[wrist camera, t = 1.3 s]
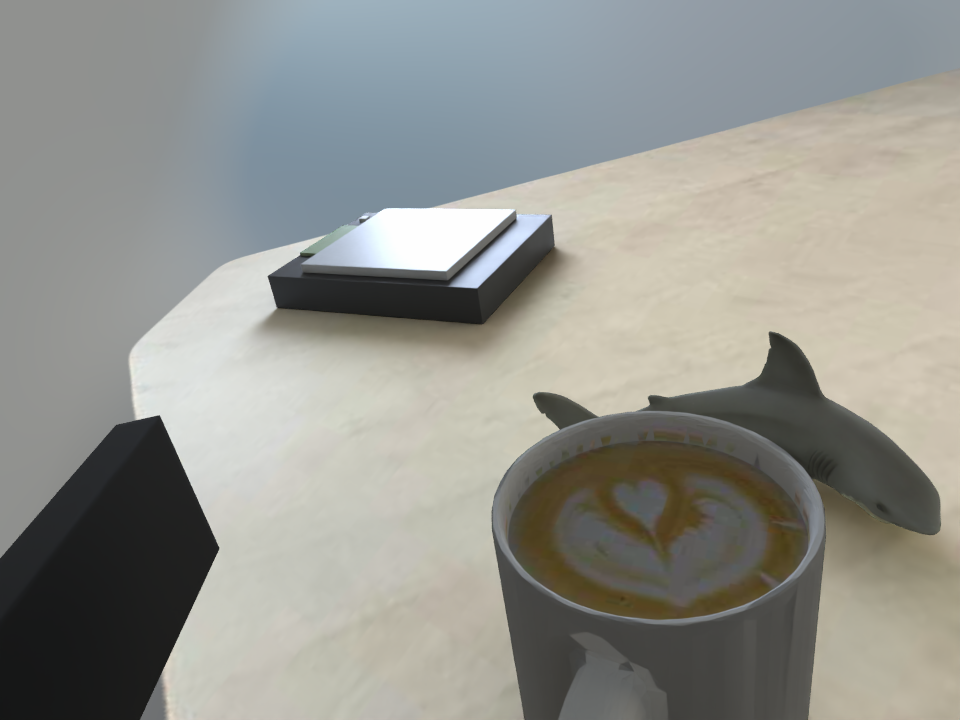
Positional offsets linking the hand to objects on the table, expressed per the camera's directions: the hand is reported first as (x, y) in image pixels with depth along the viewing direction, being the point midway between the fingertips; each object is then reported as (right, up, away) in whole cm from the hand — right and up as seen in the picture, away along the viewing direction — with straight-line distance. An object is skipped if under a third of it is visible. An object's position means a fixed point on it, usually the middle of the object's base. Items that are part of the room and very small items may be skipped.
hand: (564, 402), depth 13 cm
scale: (-7, +8, +57) cm, 58 cm away
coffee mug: (+4, -13, +15) cm, 20 cm away
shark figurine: (+13, -6, +26) cm, 30 cm away
